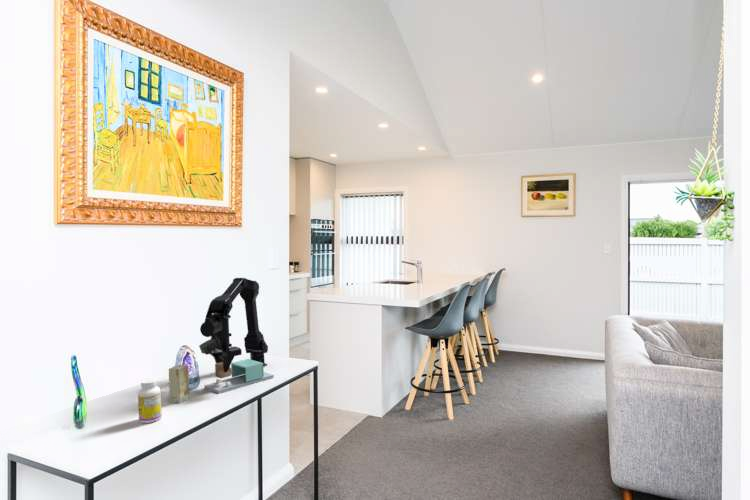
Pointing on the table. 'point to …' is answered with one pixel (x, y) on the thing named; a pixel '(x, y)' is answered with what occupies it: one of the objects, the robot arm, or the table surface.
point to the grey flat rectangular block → (234, 383)
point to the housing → (247, 369)
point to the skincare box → (178, 383)
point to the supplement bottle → (149, 401)
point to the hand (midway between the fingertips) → (222, 371)
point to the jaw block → (221, 371)
